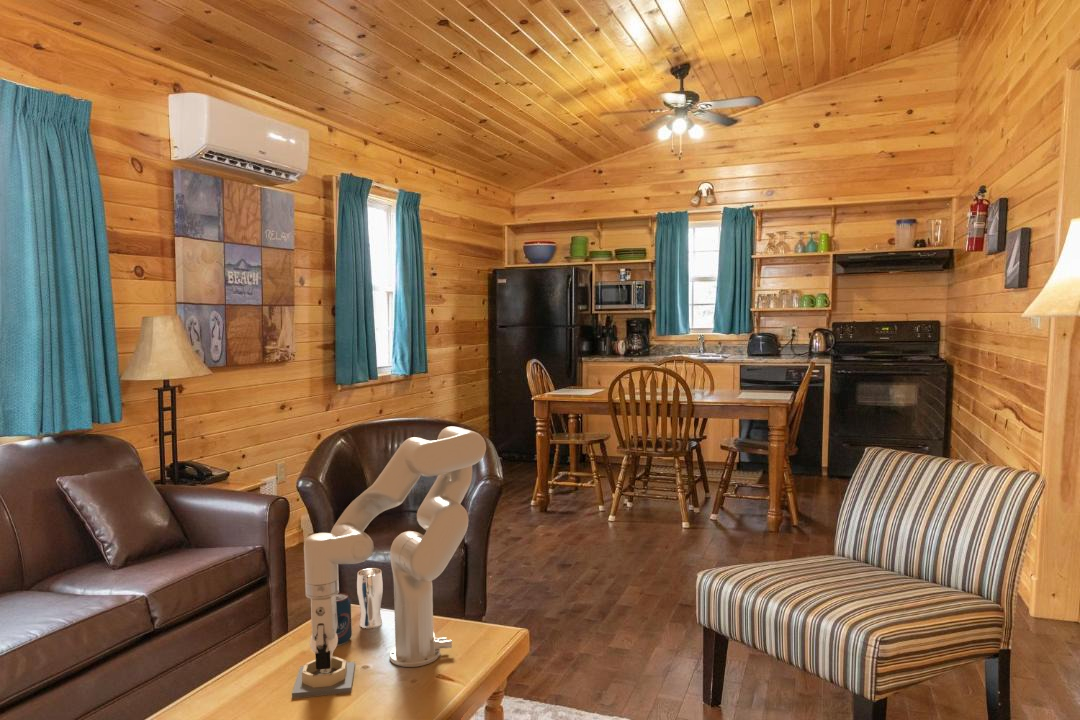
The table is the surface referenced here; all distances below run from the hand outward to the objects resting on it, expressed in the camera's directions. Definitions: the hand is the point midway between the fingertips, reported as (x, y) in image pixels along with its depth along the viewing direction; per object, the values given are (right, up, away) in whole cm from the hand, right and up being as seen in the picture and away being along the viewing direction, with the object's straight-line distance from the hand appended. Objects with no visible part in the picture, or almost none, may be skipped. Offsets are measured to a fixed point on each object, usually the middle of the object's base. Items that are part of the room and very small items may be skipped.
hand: (325, 660), depth 175 cm
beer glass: (+3, -3, +32) cm, 33 cm away
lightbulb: (0, -3, 0) cm, 3 cm away
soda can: (-3, -4, +22) cm, 23 cm away
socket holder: (0, -5, 0) cm, 5 cm away
